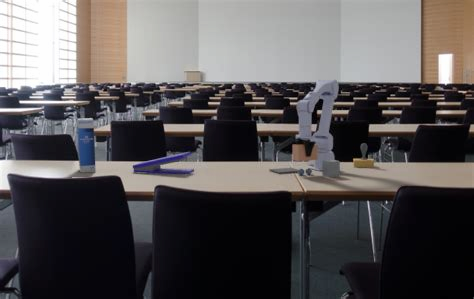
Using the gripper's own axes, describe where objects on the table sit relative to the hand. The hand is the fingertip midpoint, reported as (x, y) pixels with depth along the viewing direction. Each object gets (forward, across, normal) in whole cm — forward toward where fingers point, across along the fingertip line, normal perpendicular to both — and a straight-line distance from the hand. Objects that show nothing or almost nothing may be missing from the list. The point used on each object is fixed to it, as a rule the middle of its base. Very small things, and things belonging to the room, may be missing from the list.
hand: (304, 155), depth 244 cm
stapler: (+9, -38, -57) cm, 69 cm away
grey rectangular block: (+9, +8, +9) cm, 15 cm away
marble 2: (+9, 0, +2) cm, 9 cm away
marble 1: (+9, 0, -2) cm, 9 cm away
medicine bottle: (+9, -24, +21) cm, 33 cm away
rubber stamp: (+9, -9, +39) cm, 41 cm away
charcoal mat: (+9, -12, -4) cm, 15 cm away
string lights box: (+9, -57, -91) cm, 108 cm away
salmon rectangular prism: (+2, 0, 0) cm, 2 cm away
